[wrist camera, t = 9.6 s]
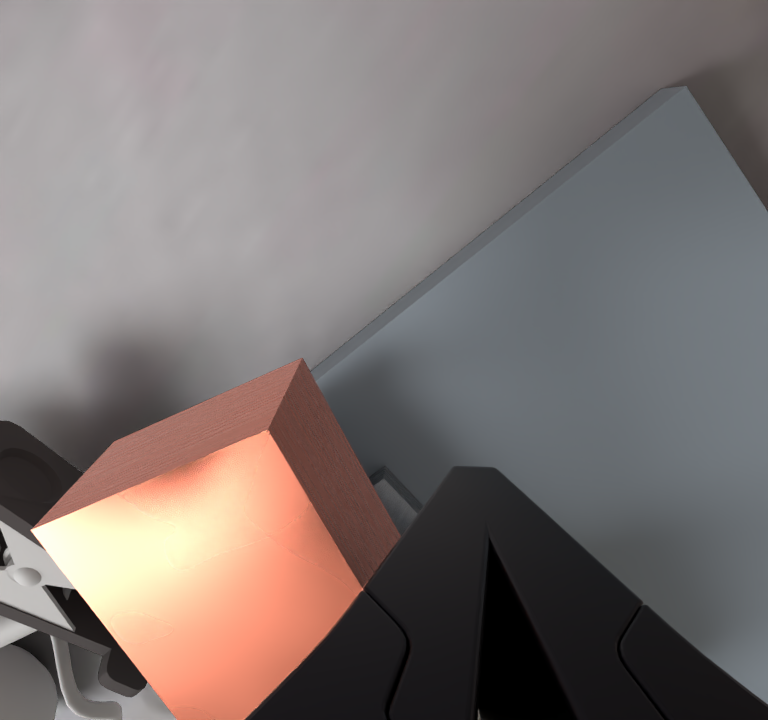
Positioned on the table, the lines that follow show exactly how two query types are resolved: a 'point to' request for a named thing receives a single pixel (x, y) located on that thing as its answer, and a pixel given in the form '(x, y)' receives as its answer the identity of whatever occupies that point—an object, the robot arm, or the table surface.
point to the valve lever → (223, 541)
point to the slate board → (602, 372)
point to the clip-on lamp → (45, 594)
